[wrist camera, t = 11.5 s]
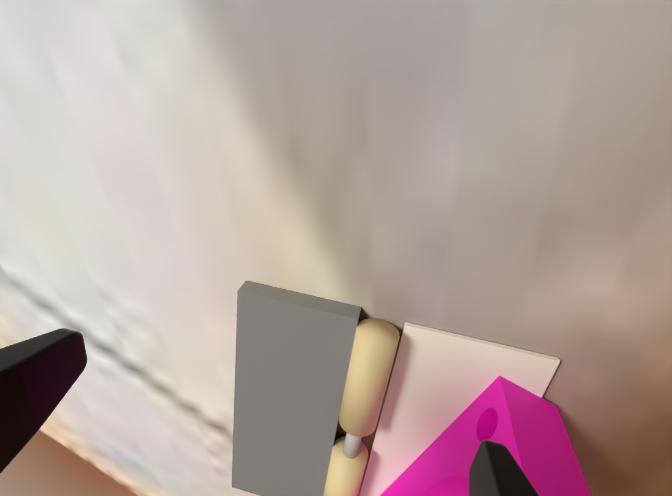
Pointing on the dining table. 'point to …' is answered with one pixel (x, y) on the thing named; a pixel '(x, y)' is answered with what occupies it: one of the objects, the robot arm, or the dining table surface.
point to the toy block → (503, 427)
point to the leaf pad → (440, 393)
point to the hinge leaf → (305, 392)
